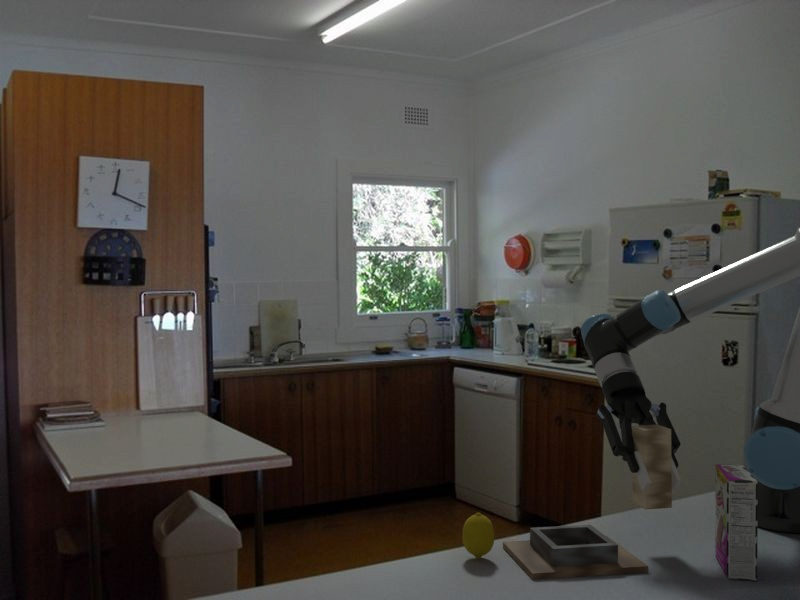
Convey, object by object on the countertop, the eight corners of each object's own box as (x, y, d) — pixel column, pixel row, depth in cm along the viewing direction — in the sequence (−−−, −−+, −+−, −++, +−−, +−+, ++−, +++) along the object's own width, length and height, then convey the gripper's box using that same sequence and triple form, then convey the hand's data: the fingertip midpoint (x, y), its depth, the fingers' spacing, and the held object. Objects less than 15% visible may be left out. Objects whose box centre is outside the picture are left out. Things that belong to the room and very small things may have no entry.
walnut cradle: (607, 541, 150) (607, 519, 150) (648, 572, 134) (648, 548, 134) (502, 547, 147) (503, 525, 147) (532, 579, 131) (532, 554, 131)
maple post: (658, 500, 150) (657, 424, 149) (671, 507, 145) (671, 429, 144) (632, 502, 149) (632, 425, 148) (645, 509, 144) (644, 430, 144)
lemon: (500, 558, 141) (501, 512, 141) (481, 566, 137) (481, 519, 137) (475, 551, 145) (475, 506, 144) (455, 558, 141) (455, 512, 140)
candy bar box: (712, 556, 142) (714, 463, 142) (743, 558, 141) (744, 464, 141) (725, 580, 131) (726, 478, 131) (758, 582, 130) (759, 480, 130)
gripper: (656, 392, 163) (701, 494, 147) (570, 395, 160) (607, 500, 144) (669, 368, 158) (717, 471, 142) (581, 371, 155) (620, 477, 139)
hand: (662, 485), depth 143 cm, fingers closed on maple post, 5 cm apart
